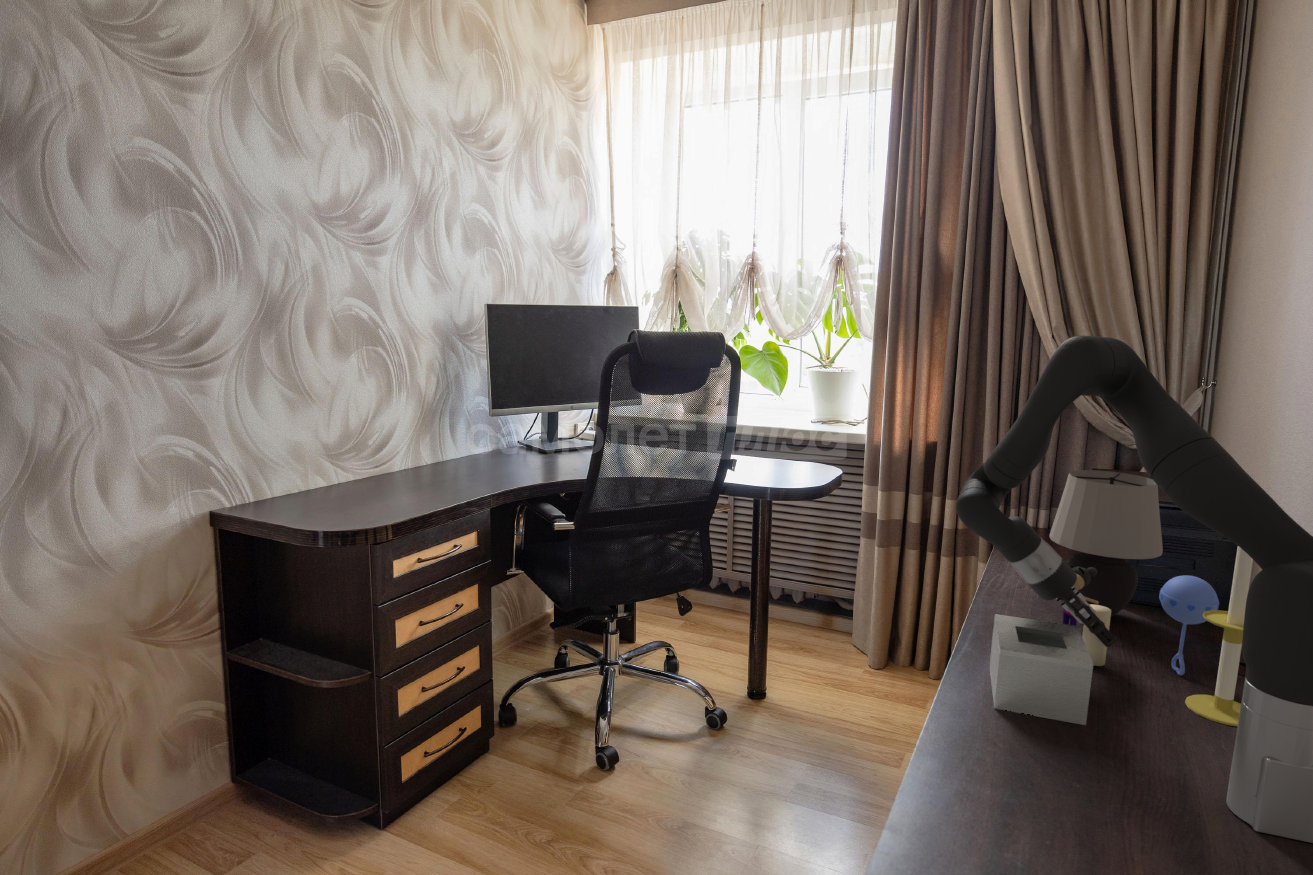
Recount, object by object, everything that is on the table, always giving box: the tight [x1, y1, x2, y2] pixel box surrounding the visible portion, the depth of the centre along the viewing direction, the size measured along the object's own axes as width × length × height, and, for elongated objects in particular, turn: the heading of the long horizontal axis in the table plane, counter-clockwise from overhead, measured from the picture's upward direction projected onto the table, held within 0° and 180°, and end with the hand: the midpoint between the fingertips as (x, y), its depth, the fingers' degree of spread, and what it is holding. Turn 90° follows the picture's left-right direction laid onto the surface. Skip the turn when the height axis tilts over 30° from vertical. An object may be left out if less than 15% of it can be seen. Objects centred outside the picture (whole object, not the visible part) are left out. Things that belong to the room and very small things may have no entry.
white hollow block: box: [989, 613, 1094, 726], centre depth 128 cm, size 16×13×10 cm
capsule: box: [1081, 604, 1111, 667], centre depth 140 cm, size 4×4×10 cm
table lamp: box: [1049, 469, 1164, 617], centre depth 163 cm, size 21×21×30 cm
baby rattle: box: [1158, 575, 1220, 676], centre depth 137 cm, size 9×9×18 cm
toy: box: [1061, 565, 1099, 626], centre depth 151 cm, size 10×6×15 cm, turn 27°
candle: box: [1184, 546, 1254, 727], centre depth 123 cm, size 10×10×32 cm
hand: (1106, 638), depth 140 cm, fingers closed on capsule, 4 cm apart
